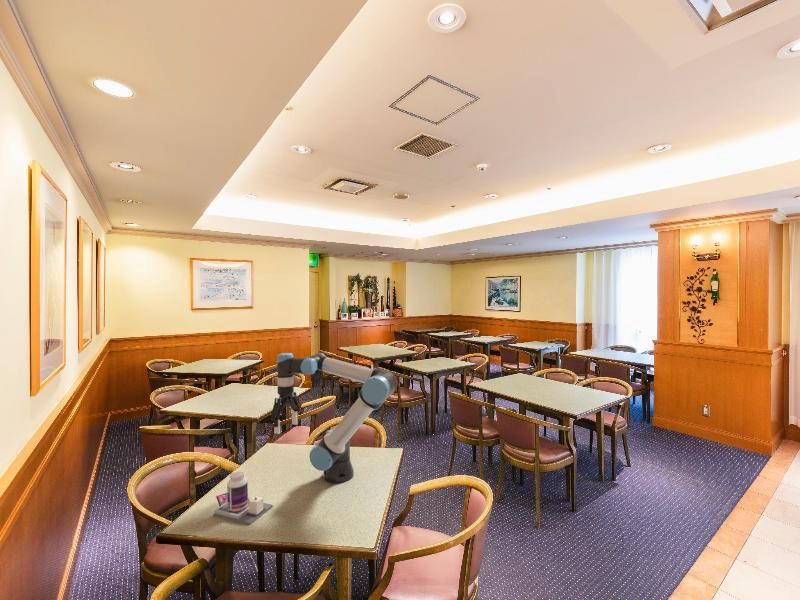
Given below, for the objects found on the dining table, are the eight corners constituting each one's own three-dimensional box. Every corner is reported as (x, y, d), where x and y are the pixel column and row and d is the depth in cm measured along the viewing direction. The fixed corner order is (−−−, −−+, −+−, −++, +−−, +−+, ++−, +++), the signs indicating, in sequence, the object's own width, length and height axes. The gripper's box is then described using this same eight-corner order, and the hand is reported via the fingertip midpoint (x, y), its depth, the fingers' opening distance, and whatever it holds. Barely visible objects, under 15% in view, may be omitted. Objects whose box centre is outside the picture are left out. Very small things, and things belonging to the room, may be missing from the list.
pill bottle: (252, 504, 167) (251, 471, 167) (238, 514, 159) (238, 479, 159) (237, 501, 170) (236, 469, 170) (223, 511, 162) (222, 477, 162)
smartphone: (221, 510, 164) (215, 495, 177) (221, 511, 164) (215, 497, 177) (240, 504, 169) (233, 490, 181) (240, 506, 169) (233, 492, 181)
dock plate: (272, 507, 167) (272, 490, 167) (249, 525, 154) (249, 507, 154) (238, 499, 173) (237, 483, 173) (213, 516, 160) (212, 499, 160)
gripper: (294, 379, 201) (295, 420, 201) (261, 390, 177) (262, 436, 178) (306, 380, 198) (307, 421, 198) (275, 391, 175) (275, 438, 175)
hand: (286, 428), depth 188 cm, fingers open, 13 cm apart
